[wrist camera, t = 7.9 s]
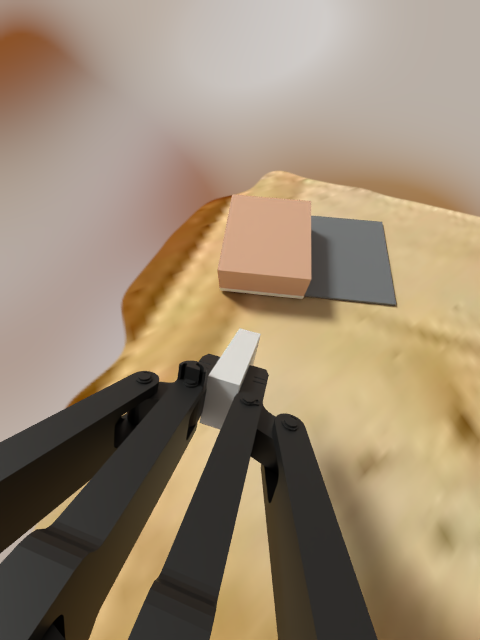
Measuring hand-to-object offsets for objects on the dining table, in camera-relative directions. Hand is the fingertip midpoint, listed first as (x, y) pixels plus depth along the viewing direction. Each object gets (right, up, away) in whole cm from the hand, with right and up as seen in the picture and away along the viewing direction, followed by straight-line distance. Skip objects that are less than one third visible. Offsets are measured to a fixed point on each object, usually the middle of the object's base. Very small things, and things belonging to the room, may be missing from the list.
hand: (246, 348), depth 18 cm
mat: (+9, +11, +16) cm, 21 cm away
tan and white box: (+2, +6, +11) cm, 13 cm away
